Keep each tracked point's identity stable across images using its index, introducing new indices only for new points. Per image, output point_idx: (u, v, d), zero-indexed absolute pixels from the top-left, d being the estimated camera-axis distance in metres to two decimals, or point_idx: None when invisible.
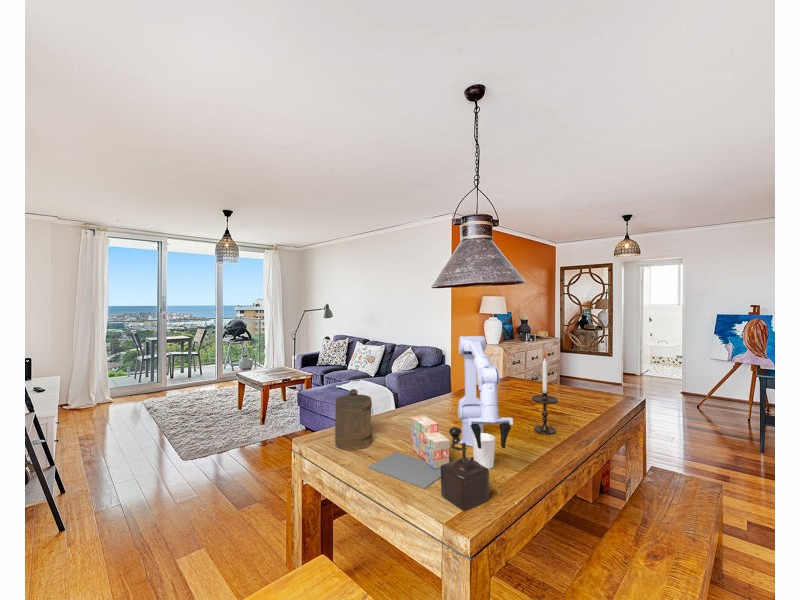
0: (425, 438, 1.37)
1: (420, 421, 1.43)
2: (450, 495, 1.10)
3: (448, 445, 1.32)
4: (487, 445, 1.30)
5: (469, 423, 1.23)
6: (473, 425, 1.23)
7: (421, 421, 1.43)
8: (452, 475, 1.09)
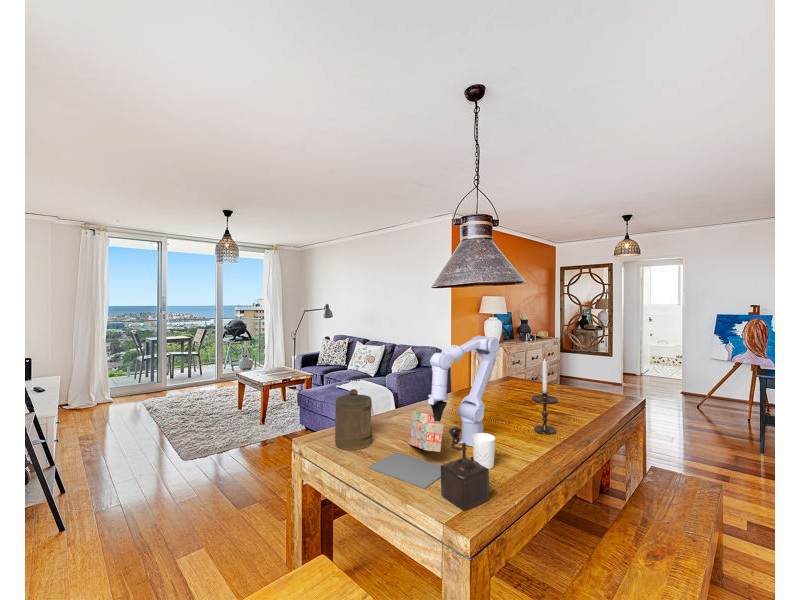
0: (421, 424, 1.41)
1: None
2: (450, 495, 1.10)
3: (441, 430, 1.35)
4: (487, 445, 1.30)
5: None
6: None
7: None
8: (452, 475, 1.09)
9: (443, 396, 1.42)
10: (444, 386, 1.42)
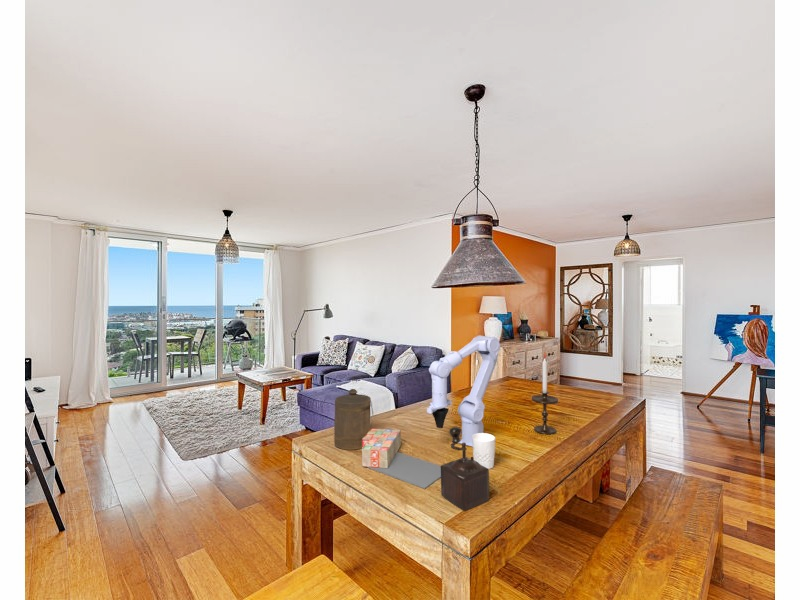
0: None
1: None
2: (450, 495, 1.10)
3: (367, 450, 1.32)
4: (487, 445, 1.30)
5: None
6: None
7: None
8: (452, 475, 1.09)
9: (443, 404, 1.44)
10: (443, 394, 1.44)
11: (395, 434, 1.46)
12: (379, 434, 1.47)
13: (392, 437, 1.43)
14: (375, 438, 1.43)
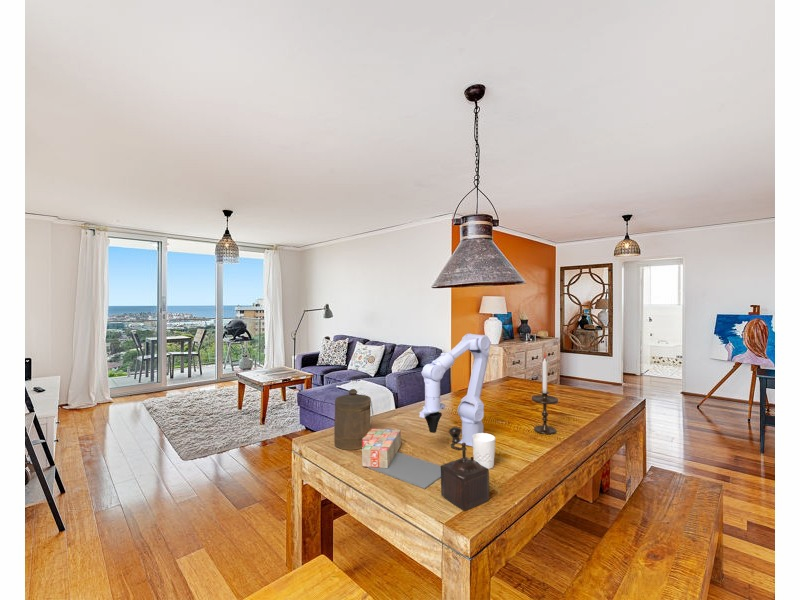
0: None
1: None
2: (450, 495, 1.10)
3: (367, 450, 1.32)
4: (487, 445, 1.30)
5: None
6: None
7: None
8: (452, 475, 1.09)
9: (436, 408, 1.40)
10: (436, 398, 1.41)
11: (395, 434, 1.46)
12: (379, 434, 1.47)
13: (392, 437, 1.43)
14: (375, 438, 1.43)
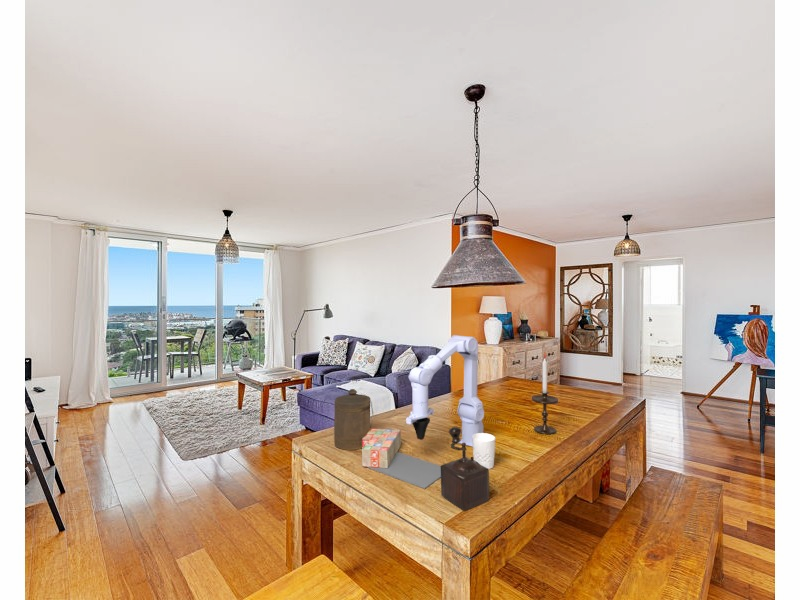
0: None
1: None
2: (450, 495, 1.10)
3: (367, 450, 1.32)
4: (487, 445, 1.30)
5: None
6: None
7: None
8: (452, 475, 1.09)
9: (423, 414, 1.34)
10: (424, 403, 1.34)
11: (395, 434, 1.46)
12: (379, 434, 1.47)
13: (392, 437, 1.43)
14: (375, 438, 1.43)
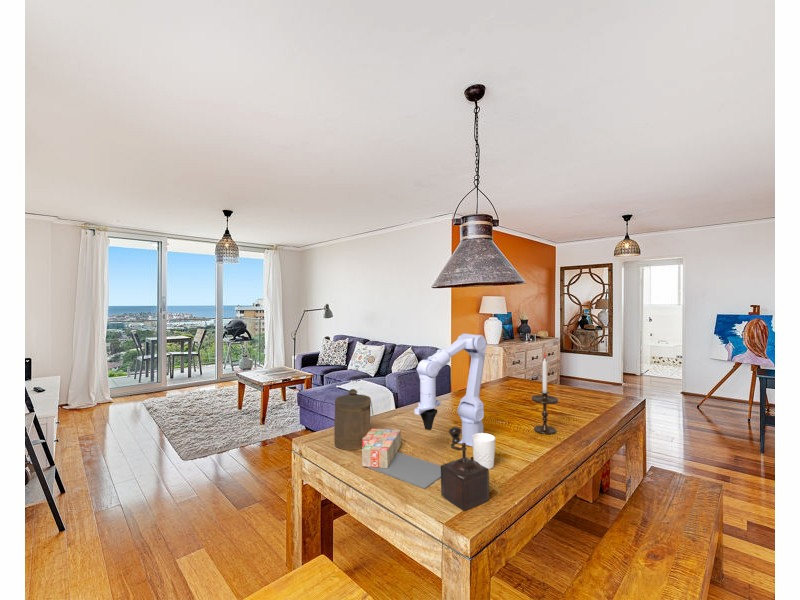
0: None
1: None
2: (450, 495, 1.10)
3: (367, 450, 1.32)
4: (487, 445, 1.30)
5: None
6: None
7: None
8: (452, 475, 1.09)
9: (431, 405, 1.38)
10: (432, 395, 1.38)
11: (395, 434, 1.46)
12: (379, 434, 1.47)
13: (392, 437, 1.43)
14: (375, 438, 1.43)
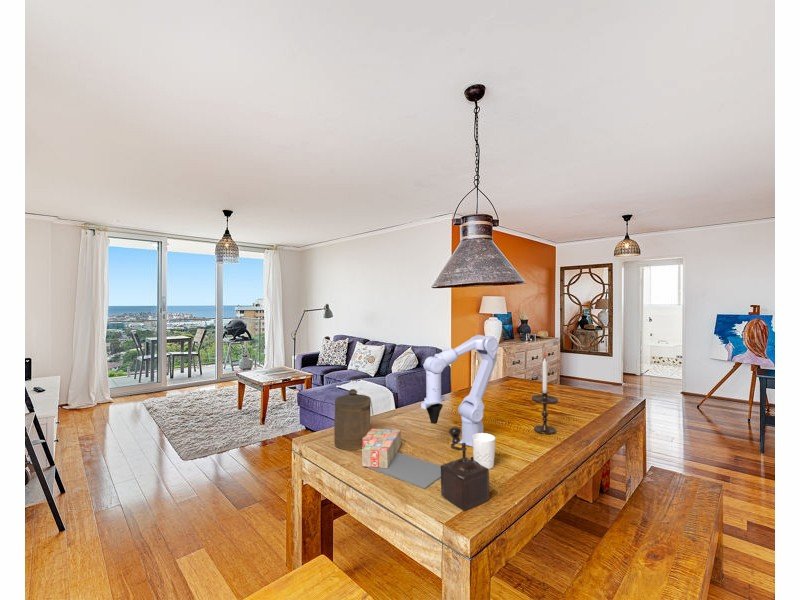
0: None
1: None
2: (450, 495, 1.10)
3: (367, 450, 1.32)
4: (487, 445, 1.30)
5: None
6: None
7: None
8: (452, 475, 1.09)
9: (437, 400, 1.45)
10: (437, 390, 1.45)
11: (395, 434, 1.46)
12: (379, 434, 1.47)
13: (392, 437, 1.43)
14: (375, 438, 1.43)
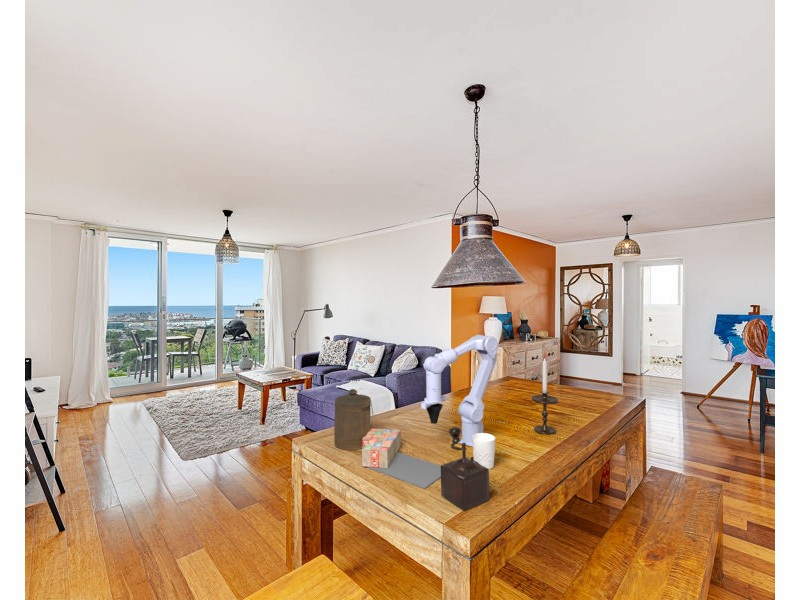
0: None
1: None
2: (450, 495, 1.10)
3: (367, 450, 1.32)
4: (487, 445, 1.30)
5: None
6: None
7: None
8: (452, 475, 1.09)
9: (437, 400, 1.45)
10: (437, 390, 1.45)
11: (395, 434, 1.46)
12: (379, 434, 1.47)
13: (392, 437, 1.43)
14: (375, 438, 1.43)
